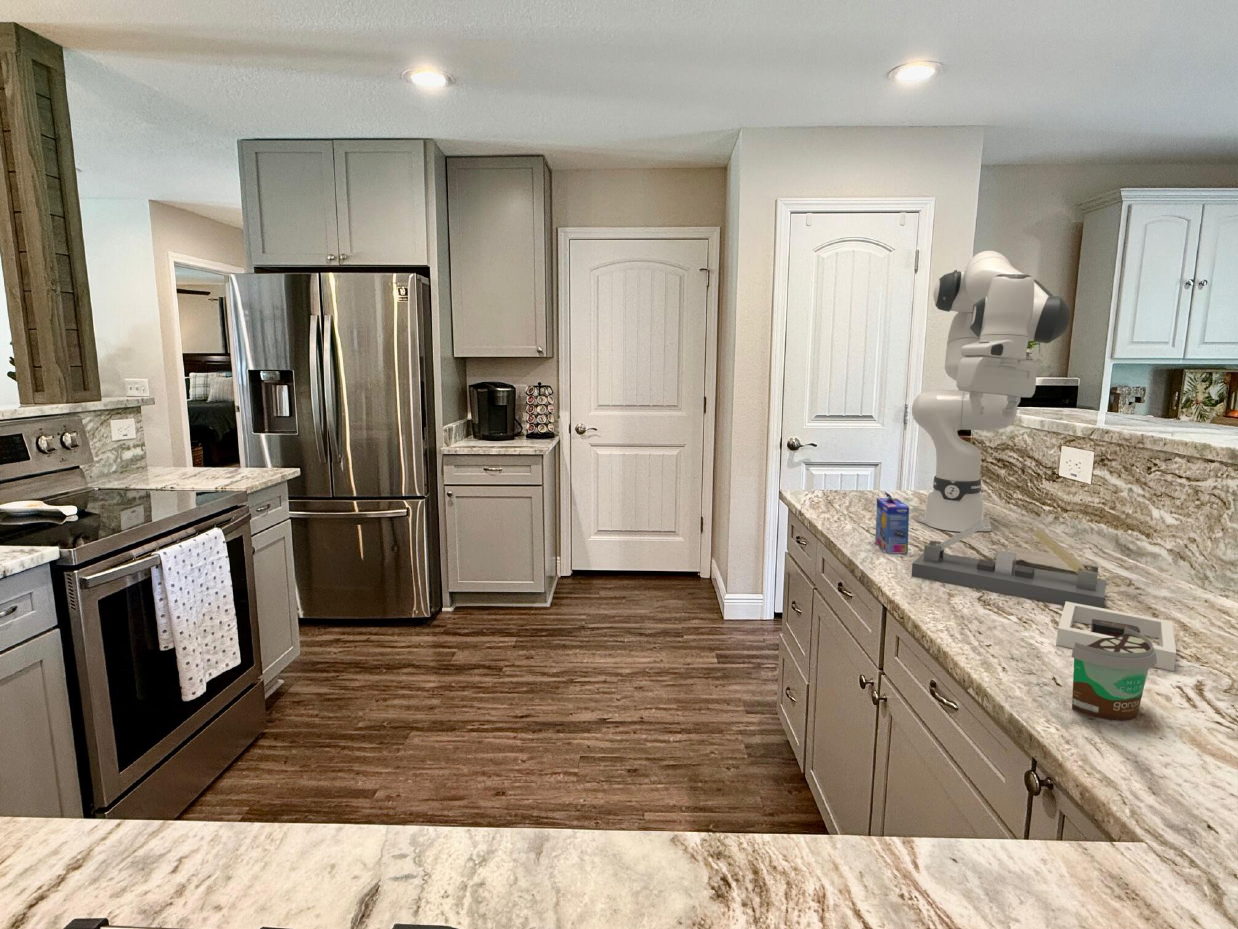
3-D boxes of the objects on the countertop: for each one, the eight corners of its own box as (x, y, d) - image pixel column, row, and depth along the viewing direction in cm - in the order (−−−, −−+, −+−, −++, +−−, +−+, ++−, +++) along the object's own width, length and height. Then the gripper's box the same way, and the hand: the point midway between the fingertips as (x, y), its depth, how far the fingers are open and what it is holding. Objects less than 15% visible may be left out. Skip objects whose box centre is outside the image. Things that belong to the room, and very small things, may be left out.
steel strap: (934, 554, 144) (929, 547, 144) (987, 525, 136) (981, 518, 137) (931, 557, 142) (926, 550, 142) (984, 528, 134) (979, 521, 135)
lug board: (925, 562, 150) (927, 536, 149) (1104, 594, 129) (1108, 563, 128) (911, 576, 141) (913, 548, 140) (1102, 612, 119) (1106, 580, 118)
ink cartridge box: (873, 542, 167) (876, 489, 164) (895, 543, 166) (898, 489, 164) (885, 554, 157) (888, 497, 154) (908, 554, 156) (912, 497, 154)
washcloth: (1006, 555, 157) (1007, 543, 156) (1095, 572, 144) (1096, 559, 143) (990, 565, 149) (991, 553, 148) (1082, 584, 136) (1084, 571, 135)
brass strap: (1033, 532, 131) (1040, 526, 130) (1088, 580, 126) (1096, 574, 125) (1031, 535, 129) (1039, 529, 128) (1087, 584, 124) (1095, 578, 123)
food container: (1114, 735, 81) (1124, 662, 79) (1064, 711, 87) (1072, 642, 85) (1169, 713, 86) (1179, 644, 84) (1119, 691, 91) (1127, 626, 90)
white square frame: (1064, 616, 118) (1065, 601, 117) (1169, 637, 109) (1172, 621, 108) (1056, 644, 106) (1057, 628, 106) (1173, 671, 97) (1176, 653, 97)
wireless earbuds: (1144, 651, 104) (1147, 633, 104) (1091, 642, 108) (1093, 624, 107) (1139, 641, 108) (1141, 623, 108) (1088, 632, 112) (1090, 614, 111)
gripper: (1020, 355, 141) (1011, 417, 143) (955, 346, 133) (946, 412, 135) (1049, 355, 135) (1038, 419, 137) (982, 345, 127) (972, 414, 129)
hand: (992, 415), depth 136 cm, fingers open, 8 cm apart
